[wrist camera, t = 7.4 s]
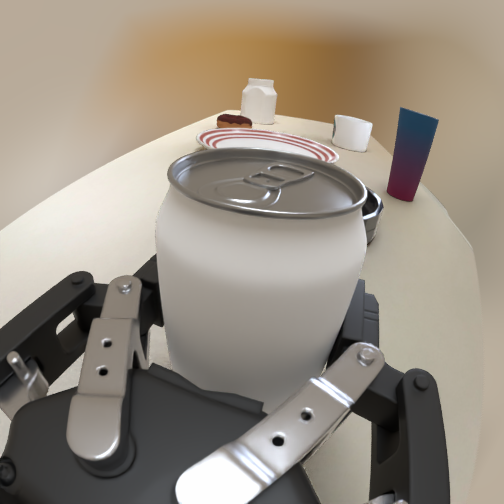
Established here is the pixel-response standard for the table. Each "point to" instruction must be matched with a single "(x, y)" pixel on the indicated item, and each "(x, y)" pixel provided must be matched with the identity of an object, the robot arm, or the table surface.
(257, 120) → the jar
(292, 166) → the can
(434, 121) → the cup
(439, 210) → the table surface
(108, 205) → the table surface
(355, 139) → the mug
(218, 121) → the donut
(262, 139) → the dinner plate
